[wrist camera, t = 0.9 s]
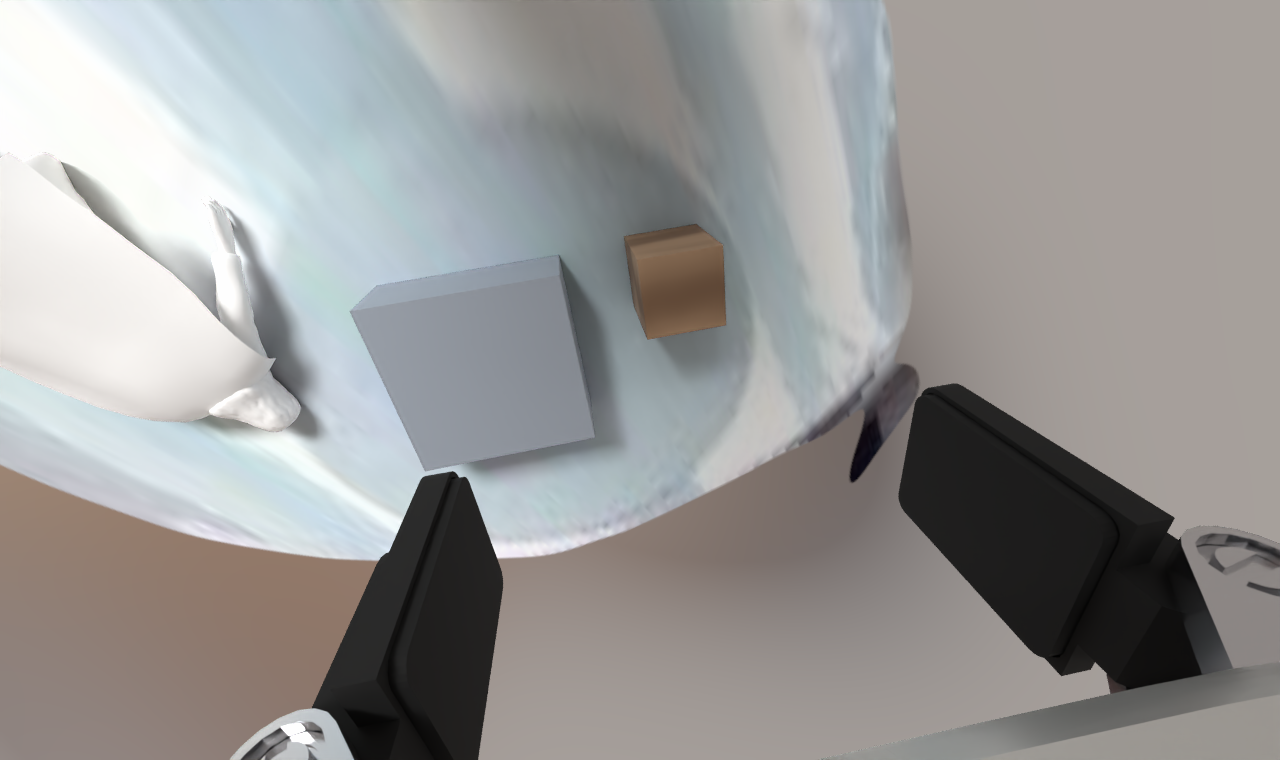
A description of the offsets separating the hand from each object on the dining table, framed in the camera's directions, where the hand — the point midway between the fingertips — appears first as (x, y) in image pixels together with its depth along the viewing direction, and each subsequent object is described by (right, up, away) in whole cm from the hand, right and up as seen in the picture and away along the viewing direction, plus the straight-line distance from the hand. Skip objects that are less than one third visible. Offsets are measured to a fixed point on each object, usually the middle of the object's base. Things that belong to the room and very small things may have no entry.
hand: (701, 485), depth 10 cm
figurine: (-33, +9, +19) cm, 39 cm away
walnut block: (0, +10, +23) cm, 25 cm away
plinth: (-12, +5, +25) cm, 28 cm away
